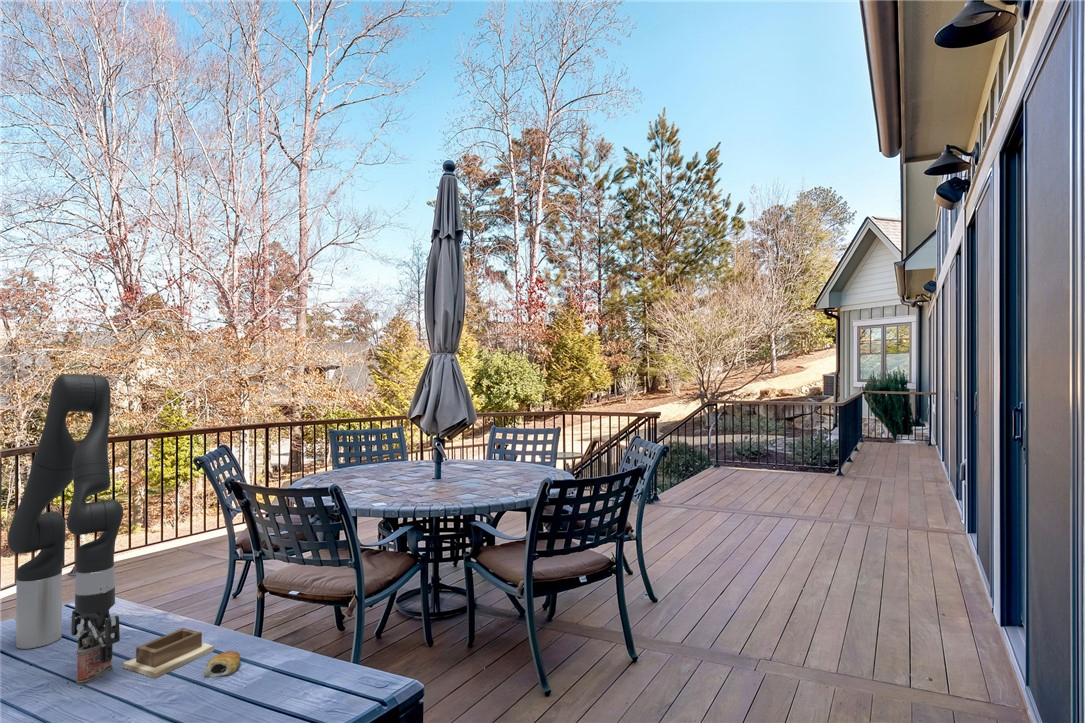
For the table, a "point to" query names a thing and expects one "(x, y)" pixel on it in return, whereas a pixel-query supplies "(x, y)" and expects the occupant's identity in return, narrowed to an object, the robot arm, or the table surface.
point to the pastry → (223, 664)
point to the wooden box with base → (168, 653)
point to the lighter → (90, 661)
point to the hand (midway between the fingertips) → (95, 657)
